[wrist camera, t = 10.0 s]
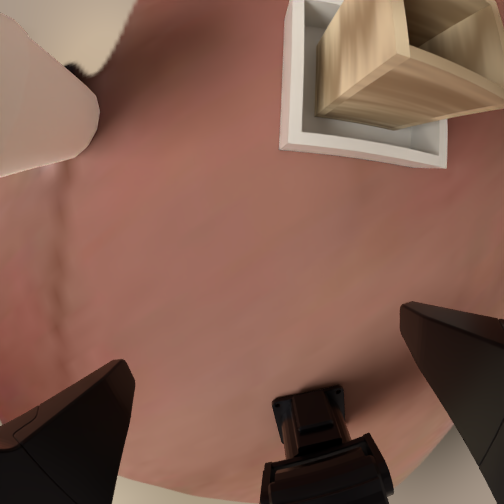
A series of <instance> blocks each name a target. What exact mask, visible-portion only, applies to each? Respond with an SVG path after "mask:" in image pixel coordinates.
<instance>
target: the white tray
mask: <svg viewBox="0 0 504 504" xmlns="http://www.w3.org/2000/svg"><path fill="white" fill-rule="evenodd" d="M343 1H344V0H290V1H289V5H288V8H287V12H286V16H285V20H284V47H283V73H282V96H281V118H280V137H279V150H285V151H297V152H308V153H317V154H326V155H335V156H343V157H350V158H357V159H364V160H371V161H377V162H383V163H389V164H395V165H401V166H406V167H411V168H444V169H447V140H448V125H447V119H443V120H438V121H433V122H429V123H424V124H420V125H415V126H411V127H407V128H403V129H399V130H394V131H393V130H388V129H384V128H379V127H374V126H369V125H364V124H358V123H353V122H347V121H341V120H335V119H328V118H321V117H314V110H315V83H316V46H317V44H318V42H319V41H320V39H321V37H322V36H323V34H324V32H325V31H326V29H327V27H328V26H329V24H330V22H331V21H332V19H333V17H334V16H335V14H336V12H337V11H338V9H339V7H340V6H341V4H342V3H343Z"/></svg>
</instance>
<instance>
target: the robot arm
mask: <svg viewBox="0 0 504 504" xmlns="http://www.w3.org/2000/svg"><path fill="white" fill-rule="evenodd" d="M400 332H401V334H402V336H403V338H404V340H405V342H406V344H407V346H408V348H409V350H410V352H411V354H412V356H413V358H414V360H415V362H416V364H417V366H418V367H419V369H420V371H421V372H422V374H423V375H424V377H425V378H426V380H427V381H428V383H429V385H430V386H431V388H432V389H433V391H434V392H435V394H436V395H437V397H438V399H439V400H440V402H441V403H442V405H443V407H444V408H445V410H446V411H447V413H448V415H449V416H450V418H451V420H452V421H453V423H454V425H455V426H456V428H457V430H458V431H459V433H460V435H461V436H462V438H463V440H464V441H465V443H466V445H467V447H468V448H469V450H470V452H471V454H472V456H473V457H474V459H475V461H476V463H477V465H478V466H479V469H480V471H481V473H482V474H483V476H484V478H485V480H486V482H487V484H488V486H489V488H490V490H491V492H492V494H493V496H494V498H495V500H496V502H497V504H504V319H499V320H498V318H493V317H488V316H483V315H478V314H473V313H468V312H463V311H458V310H453V309H448V308H443V307H438V306H433V305H428V304H423V303H418V302H413V301H411V302H408V303H404V304H402V305H401V307H400ZM337 390H339V391H337ZM134 391H135V380H134V377H133V375H132V373H131V371H130V369H129V367H128V365H127V363H126V361H125V360H123V359H118V360H112V361H110V362H109V363H107V364H106V365H104V366H102V367H101V368H99V369H98V370H96V371H94V372H93V373H91V374H89V375H88V376H86V377H84V378H83V379H81V380H80V381H78V382H76V383H75V384H73V385H71V386H70V387H68V388H66V389H65V390H63V391H61V392H60V393H58V394H56V395H55V396H53V397H52V398H50V399H48V400H47V401H45V402H43V403H42V404H40V406H36V407H35V408H33V409H31V410H30V411H28V412H26V413H24V414H23V415H21V416H19V417H17V418H15V419H13V420H11V421H10V422H8V423H6V424H4V425H2V426H0V504H112V500H113V495H114V490H115V484H116V480H117V475H118V471H119V466H120V461H121V457H122V453H123V448H124V444H125V440H126V436H127V432H128V428H129V423H130V418H131V411H132V404H133V397H134ZM276 404H278V405H276ZM272 408H273V412H274V415H275V419H276V423H277V427H278V431H279V435H280V438H281V442H282V443H283V444H284V448H285V455H286V460H282V461H278V462H273V463H272V462H268V463H265V468H264V471H263V477H262V486H261V495H260V503H259V504H389V502H388V499H387V497H388V496H390V495H393V494H394V489H393V483H392V479H391V476H390V472H389V469H388V467H387V464H386V462H385V460H384V458H383V456H382V454H381V453H380V451H379V449H378V447H377V445H376V444H375V442H374V440H373V438H372V437H371V435H370V433H367V434H364V435H363V436H362V437H359V438H356V439H354V440H351V437H350V434H349V432H348V429H347V426H346V423H345V410H344V390H343V388H342V386H341V385H336V386H333V387H329V388H325V389H321V390H316V391H312V392H308V393H303V394H299V395H294V396H289V397H284V398H279V399H275V400H273V401H272Z"/></svg>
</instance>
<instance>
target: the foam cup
mask: <svg viewBox="0 0 504 504" xmlns="http://www.w3.org/2000/svg"><path fill="white" fill-rule="evenodd" d="M99 114H100V109H99V105H98V101H97V97H96V95H95V94H94V93H93V92H92V91H91V90H90V89H89V88H88V87H87V86H86V85H85V84H84V83H83V82H81V81H80V80H79V79H78V78H77V77H76V76H74V75H73V74H72V73H71V72H70V71H69V70H67V69H66V68H65V67H64V66H63V65H62V64H60V63H59V62H58V61H57V60H56V59H55V58H53V57H52V56H51V55H50V54H49V53H47V52H46V51H45V50H44V49H43V48H42V47H40V46H39V45H38V44H37V43H36V42H34V41H33V40H32V39H31V38H30V37H28V34H27V32H26V31H25V30H24V29H23V28H22V27H21V26H20V25H19V24H18V23H17V22H16V21H15V20H14V19H12V18H10V17H8V16H7V15H4V14H3V13H1V12H0V178H1V177H4V176H7V175H11V174H14V173H18V172H21V171H25V170H29V169H33V168H36V167H40V166H44V165H49V164H53V163H57V162H60V161H64V160H68V159H71V158H75V157H76V156H77V155H79V154H80V153H81V152H82V151H83V150H84V149H85V148H87V147H88V145H89V144H90V142H91V140H92V138H93V136H94V134H95V132H96V131H97V127H98V121H99Z"/></svg>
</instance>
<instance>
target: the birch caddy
mask: <svg viewBox="0 0 504 504" xmlns="http://www.w3.org/2000/svg"><path fill="white" fill-rule="evenodd" d="M498 109H504V28H503V24H502V20H501V17H500V14H499V10H498V7H497V4H496V1H494V0H344V1H343V3H342V4H341V6H340V7H339V9H338V11H337V12H336V14H335V16H334V17H333V19H332V21H331V22H330V24H329V26H328V27H327V29H326V31H325V32H324V34H323V36H322V37H321V39H320V41H319V42H318V44H317V46H316V83H315V110H314V117H321V118H328V119H335V120H341V121H347V122H353V123H358V124H364V125H369V126H374V127H379V128H384V129H388V130H393V131H394V130H399V129H403V128H407V127H411V126H415V125H420V124H424V123H429V122H433V121H438V120H443V119H448V118H453V117H458V116H463V115H469V114H474V113H480V112H486V111H492V110H498Z"/></svg>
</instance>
